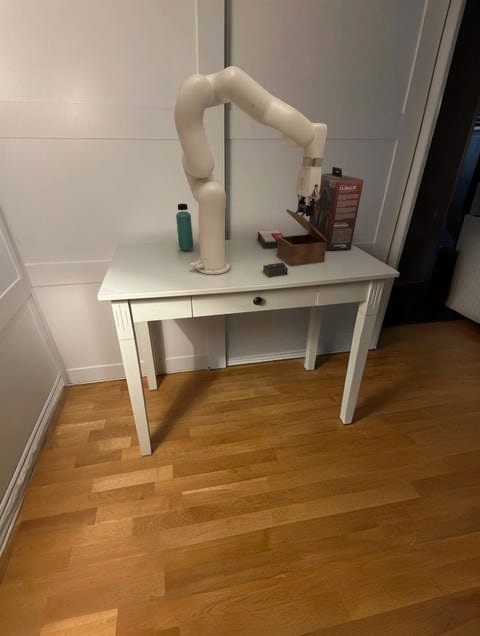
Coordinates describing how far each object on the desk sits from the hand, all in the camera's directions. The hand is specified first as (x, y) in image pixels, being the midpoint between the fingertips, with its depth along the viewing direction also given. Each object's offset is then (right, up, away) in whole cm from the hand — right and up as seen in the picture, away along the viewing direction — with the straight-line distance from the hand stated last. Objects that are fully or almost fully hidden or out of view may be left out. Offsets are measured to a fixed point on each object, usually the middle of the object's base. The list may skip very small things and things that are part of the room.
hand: (305, 213), depth 122 cm
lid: (+1, -4, +3) cm, 5 cm away
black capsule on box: (-12, -24, -4) cm, 27 cm away
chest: (0, -16, +10) cm, 19 cm away
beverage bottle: (-50, -11, +17) cm, 54 cm away
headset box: (+17, -4, +29) cm, 34 cm away
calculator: (-10, -5, +28) cm, 30 cm away
